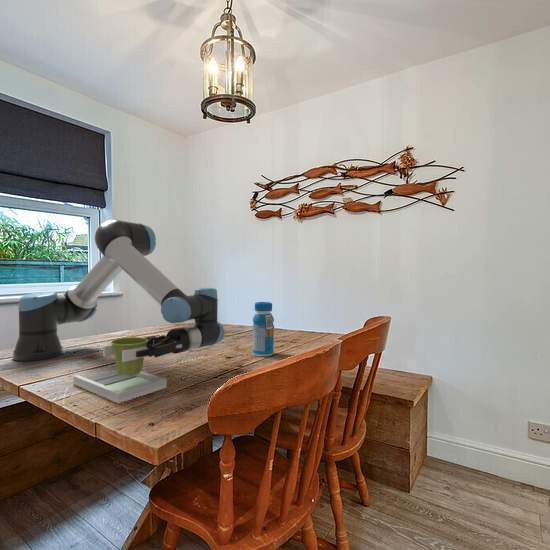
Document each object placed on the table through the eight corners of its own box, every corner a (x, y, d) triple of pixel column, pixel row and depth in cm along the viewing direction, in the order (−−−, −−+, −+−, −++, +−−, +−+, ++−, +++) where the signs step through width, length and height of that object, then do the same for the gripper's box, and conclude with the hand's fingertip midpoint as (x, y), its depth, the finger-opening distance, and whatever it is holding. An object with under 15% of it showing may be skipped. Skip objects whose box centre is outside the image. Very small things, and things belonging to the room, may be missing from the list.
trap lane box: (73, 384, 96) (73, 376, 96) (120, 372, 108) (120, 364, 108) (118, 403, 83) (118, 393, 83) (166, 387, 94) (166, 379, 94)
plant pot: (137, 365, 99) (137, 335, 99) (155, 372, 93) (155, 340, 93) (104, 373, 92) (104, 340, 92) (121, 380, 86) (121, 346, 86)
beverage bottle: (251, 356, 128) (251, 303, 128) (252, 351, 137) (253, 301, 137) (273, 357, 128) (274, 303, 128) (274, 351, 137) (274, 301, 136)
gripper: (206, 356, 101) (136, 375, 82) (161, 346, 113) (92, 361, 95) (206, 331, 101) (136, 344, 82) (161, 324, 113) (92, 334, 95)
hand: (113, 353), depth 88 cm, fingers closed on plant pot, 8 cm apart
